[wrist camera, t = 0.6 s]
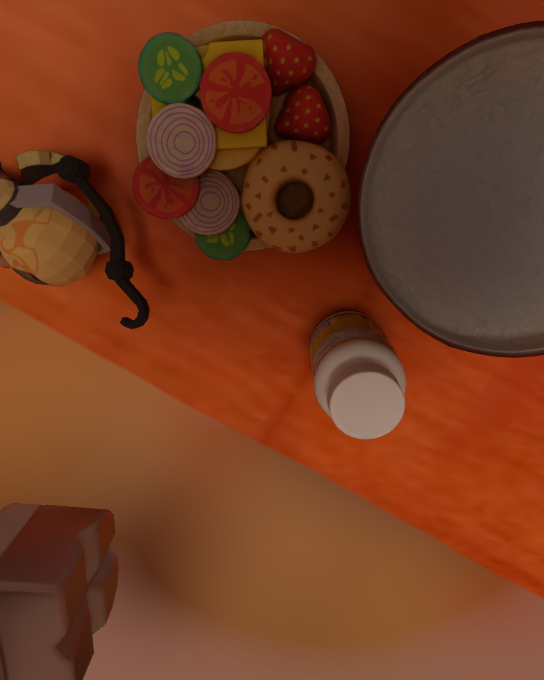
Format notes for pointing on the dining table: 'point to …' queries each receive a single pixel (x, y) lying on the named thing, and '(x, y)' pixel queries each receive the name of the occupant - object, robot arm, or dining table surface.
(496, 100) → the food container
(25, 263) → the toy
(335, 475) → the dining table surface
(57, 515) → the robot arm
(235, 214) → the toy food set
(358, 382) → the supplement bottle
